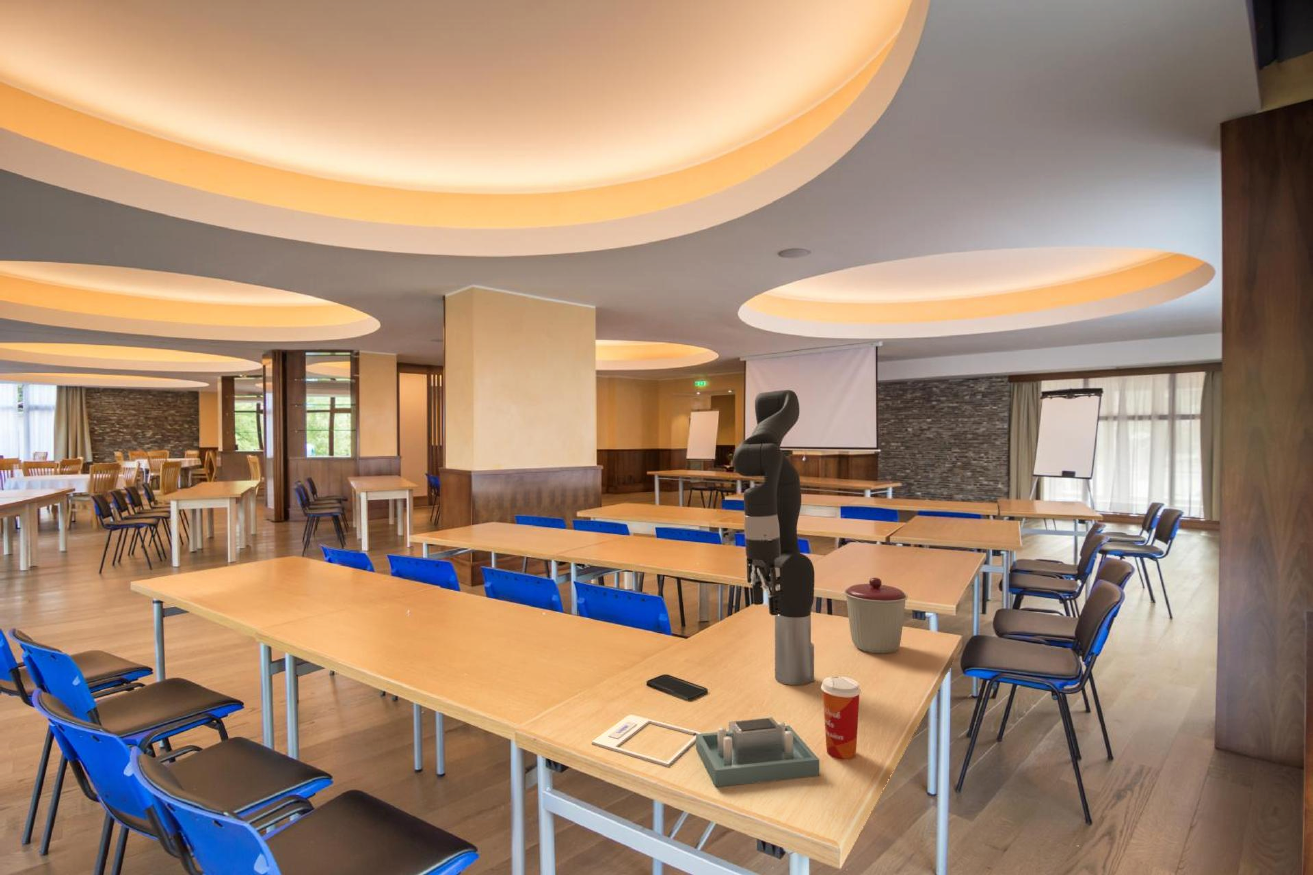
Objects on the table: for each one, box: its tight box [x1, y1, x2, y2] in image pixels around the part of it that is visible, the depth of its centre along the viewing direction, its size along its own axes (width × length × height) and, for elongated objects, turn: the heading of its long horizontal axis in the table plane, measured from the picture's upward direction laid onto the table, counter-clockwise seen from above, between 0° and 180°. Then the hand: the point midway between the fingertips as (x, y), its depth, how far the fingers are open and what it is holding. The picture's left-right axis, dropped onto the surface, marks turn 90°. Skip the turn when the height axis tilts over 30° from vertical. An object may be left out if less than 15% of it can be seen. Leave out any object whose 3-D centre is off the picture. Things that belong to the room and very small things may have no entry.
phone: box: [645, 674, 709, 702], centre depth 156 cm, size 8×1×15 cm
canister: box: [843, 577, 909, 655], centre depth 186 cm, size 18×18×21 cm
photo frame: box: [591, 714, 703, 768], centre depth 130 cm, size 15×1×18 cm
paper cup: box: [820, 676, 862, 761], centre depth 124 cm, size 8×8×14 cm
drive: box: [728, 717, 782, 765], centre depth 121 cm, size 9×5×6 cm, turn 102°
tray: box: [695, 721, 820, 788], centre depth 121 cm, size 20×14×6 cm
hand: (766, 609), depth 136 cm, fingers open, 8 cm apart
